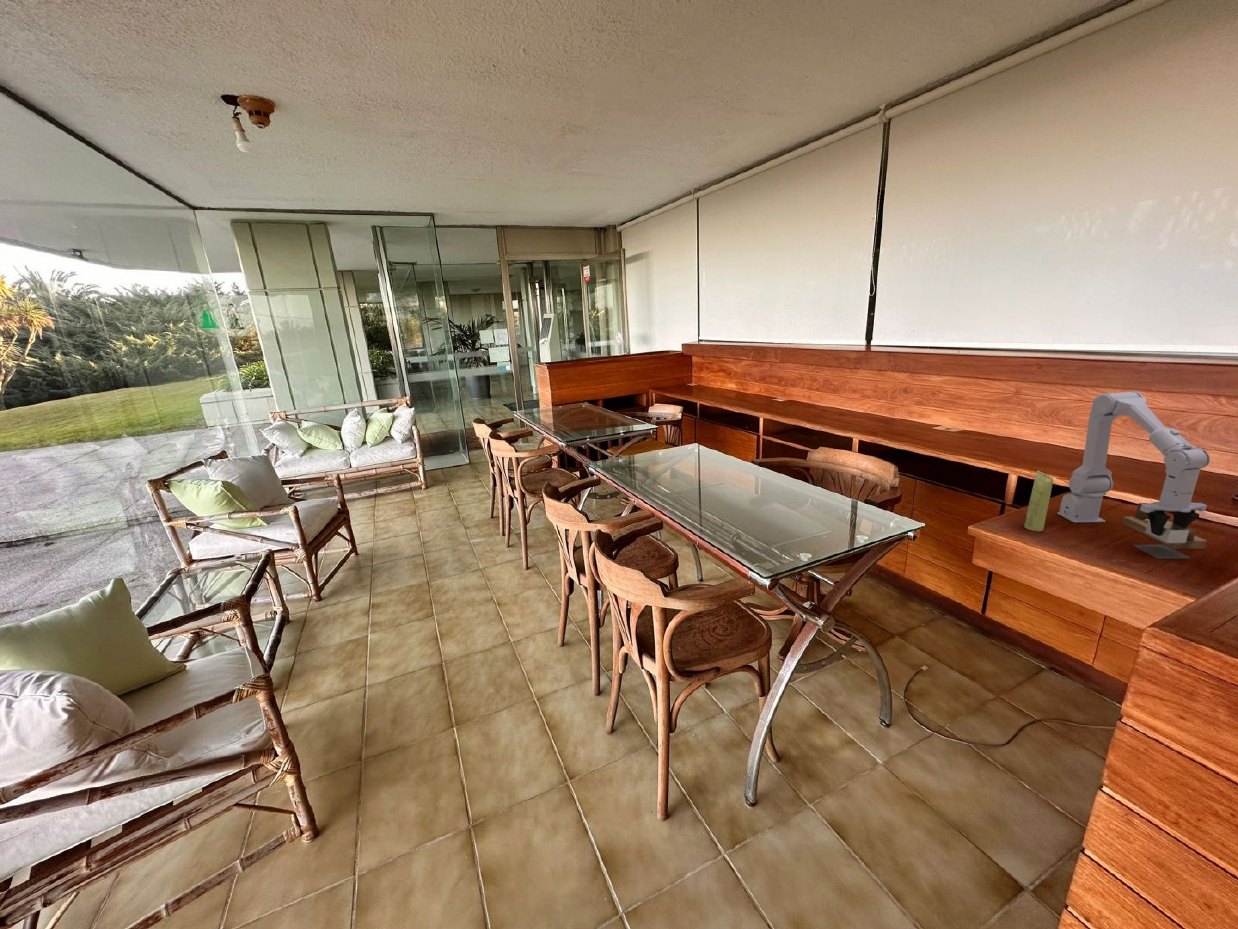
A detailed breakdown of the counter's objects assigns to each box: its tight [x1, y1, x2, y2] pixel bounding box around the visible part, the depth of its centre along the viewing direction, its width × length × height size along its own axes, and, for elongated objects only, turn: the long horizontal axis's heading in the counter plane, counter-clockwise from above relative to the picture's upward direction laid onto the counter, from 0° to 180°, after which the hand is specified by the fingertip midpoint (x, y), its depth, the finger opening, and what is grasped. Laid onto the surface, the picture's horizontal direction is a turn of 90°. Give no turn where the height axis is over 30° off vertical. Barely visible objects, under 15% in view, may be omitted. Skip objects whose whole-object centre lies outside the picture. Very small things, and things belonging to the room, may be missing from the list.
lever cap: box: [1145, 520, 1189, 543], centre depth 139 cm, size 4×7×4 cm, turn 171°
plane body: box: [1121, 502, 1208, 550], centre depth 149 cm, size 8×18×8 cm, turn 172°
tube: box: [1024, 470, 1054, 532], centre depth 158 cm, size 6×5×20 cm
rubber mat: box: [1132, 544, 1191, 560], centre depth 141 cm, size 8×8×1 cm
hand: (1165, 534), depth 140 cm, fingers closed on lever cap, 4 cm apart
